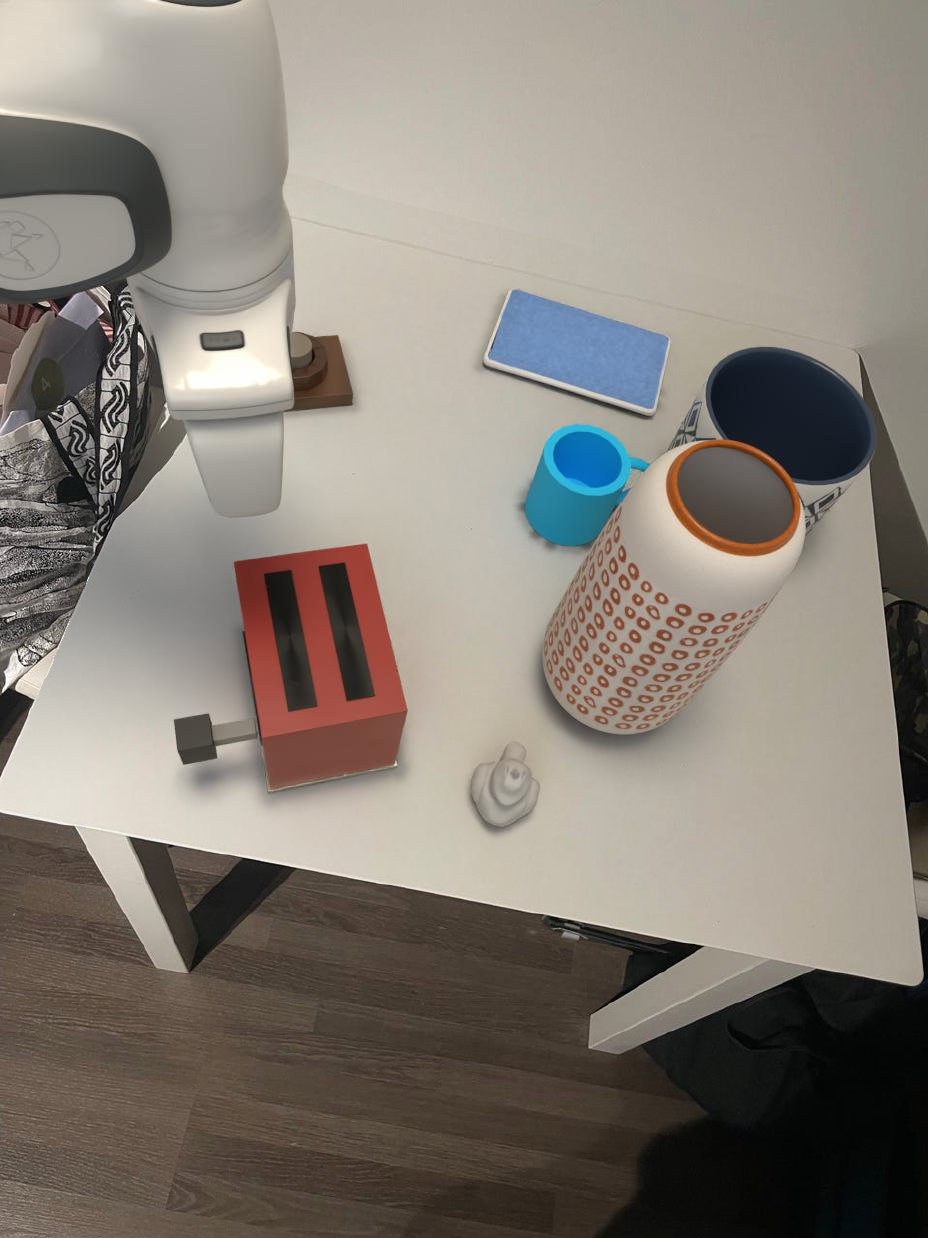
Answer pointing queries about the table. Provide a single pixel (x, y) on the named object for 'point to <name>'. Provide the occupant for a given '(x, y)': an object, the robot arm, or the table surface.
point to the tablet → (579, 351)
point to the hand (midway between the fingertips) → (236, 440)
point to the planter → (787, 420)
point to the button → (300, 351)
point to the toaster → (320, 666)
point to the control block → (322, 377)
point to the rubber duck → (505, 787)
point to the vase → (673, 585)
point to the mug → (578, 484)
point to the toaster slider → (208, 736)
